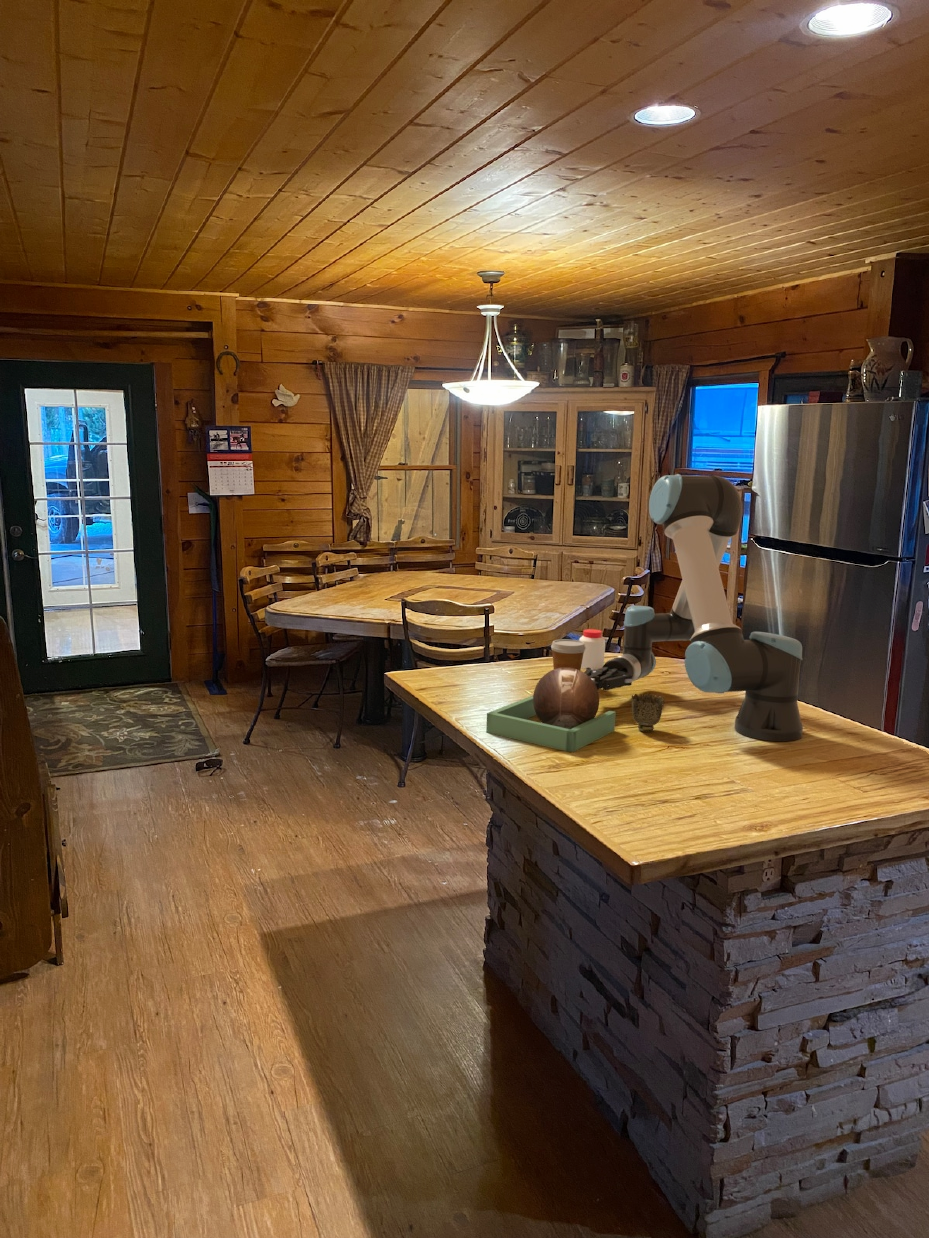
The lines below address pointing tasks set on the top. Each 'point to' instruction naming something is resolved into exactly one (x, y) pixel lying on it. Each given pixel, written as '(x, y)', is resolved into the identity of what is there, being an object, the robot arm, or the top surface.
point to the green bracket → (546, 727)
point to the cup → (647, 711)
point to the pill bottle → (593, 649)
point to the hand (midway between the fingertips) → (579, 688)
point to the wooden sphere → (565, 698)
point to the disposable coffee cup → (567, 653)
